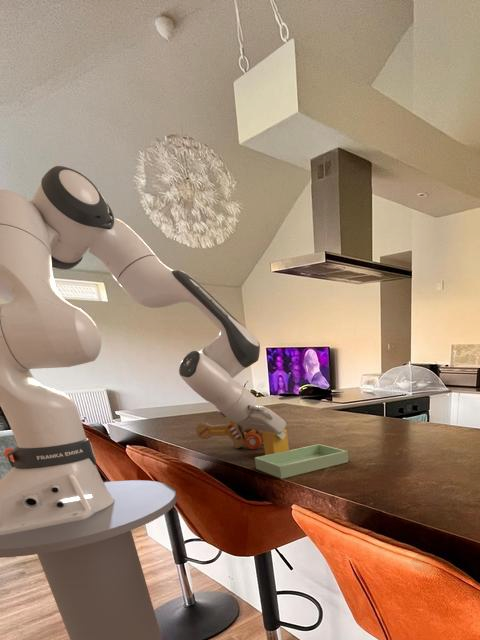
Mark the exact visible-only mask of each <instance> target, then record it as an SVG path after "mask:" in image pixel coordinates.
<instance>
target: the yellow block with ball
mask: <svg viewBox="0 0 480 640" xmlns="http://www.w3.org/2000/svg"><path fill="white" fill-rule="evenodd" d="M283 433H285V435H286V436H285V438H284V439H283V440H282V439H279V438H278V437H276V434H275V433H270V432H264V431H262V436H263V449H264V455H269V454H274V453H279V452H284V451H289V450H290V446H289V445H290V444H289V439H288V431H287V429H284V430H283Z"/></svg>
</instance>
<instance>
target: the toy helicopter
mask: <svg viewBox="0 0 480 640" xmlns="http://www.w3.org/2000/svg"><path fill="white" fill-rule="evenodd" d="M222 418H224V416H222ZM195 433H196V435H197V436H198V437H199V438H200V439H202V440H208V439H210V438H211V437H213V436H227V437H229V439H230V440H232V442H233V447H234V448H235V449H240V448H241V447H244V446H245V447H247V448H248V449H250V450H257V449H259V448H260V447H261V446H262V444H264V442H263V436H262V433H261V432H259V431H258V430H254V429H249V428H244V427H242V426H240V425H238V424H237V423H235V422H233V421H232V420H230V421H229V422H228V423H225V424H216V425H212V424H210V423H207V422H201V423H199V424H197V426H196V428H195Z"/></svg>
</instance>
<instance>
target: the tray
mask: <svg viewBox="0 0 480 640" xmlns="http://www.w3.org/2000/svg"><path fill="white" fill-rule="evenodd" d="M254 463H255V469H256V470H258V471H260V472H263V473H266V474H268V475H271V476H273V477H276V478H278V479H280V480H283V479H286V478H290V477H295V476H299V475H303V474H306V473H310V472H314V471H319V470H323V469H326V468H330V467H335V466H338V465H343V464H347V463H349V454H348V450H345V449H341V448H337V447H333V446H329V445H326V444H320V443H317V444H314V445H308V446H303V447H299V448H294V449H289V451H284V452H279V453H274V454H269V455H265V454H264V455H260V456H255V457H254Z"/></svg>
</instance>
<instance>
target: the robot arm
mask: <svg viewBox="0 0 480 640" xmlns="http://www.w3.org/2000/svg"><path fill="white" fill-rule="evenodd" d="M40 183H41V184H40V185H39V187H38V188H37V190H36V192H35V193H34V196H33V197H32V200H28V199H27V198H26V197H24V196H22V195H21V194H18V193H16V192H14V191H11V190H7V189H0V299H2V300H4V301H6V302H7V303H0V408H1V410H2V412H3V414H4V416H5V418H6V420H7V423H8V425H9V427H10V429H11V432H12V434H13V437H14V439H15V442H16V445H17V446H16V447H15V448H13V447H6V448H5V449H4V450H3V455H4V458H6V459H7V460H8V463H9V465H10V466H11V469H10V470H9V471H8V472H7V473H6V474H5V475H4V476H3V477H1V479H0V535H6V534H11V533H16V532H21V531H27V530H32V529H37V528H42V527H47V526H53V525H58V524H63V523H68V522H74V521H79V520H83V519H86V518H88V517H90V516H91V515H93V514H94V513H96V512H98V511H100V510H102V509H105V508H107V507H108V506H110V505H111V504H112V503H113V502H114V499H113V497H112V496H111V494H110V493H109V491H108V490H107V488H106V486H105V484H104V483H103V482H104V480H103V479H102V477H101V474H100V472H99V469H98V468H97V457H96V455H95V451H94V448H93V445H92V443H91V440H90V439H89V438H88V437H87V436H86V433H85V430H84V426H83V423H82V422H83V421H82V420H81V419H82V418H81V416H80V413H79V409H78V405H77V404H76V403H75V401H74V400H73V399H72V398H71V396H69V395H67V394H65V393H64V392H61V391H59V390H56V389H54V388H50V387H47V386H44V385H43V384H42V383H40V382H39V381H38V380H37V379H36V378H35V376H34V375H33V374H32V371H31V370H34V369H35V370H36V369H57V368H70V367H71V368H72V367H75V366H81V365H84V364H89V363H92V362H95V361H96V360H97V358H98V357H99V355H100V353H101V350H102V336H101V332H100V331H99V328H98V326H97V324H96V322H95V321H94V320H93V319H92V317H91V316H89V315H88V314H87V313H86V312H85V311H84V310H82V309H81V308H79V307H77V306H75V305H74V304H72V303H70V302H68V301H67V300H66V299H65V298H64V297H62V295H61V294H60V293H59V291H58V290H57V288H56V282H55V278H54V271H53V268H55V269H59V270H64V271H65V270H67V271H68V270H71V269H73V268H75V267H76V266H78V265H79V264H80V263H81V262H82V260H83V258H84V255H85V254H87V252H88V253H89V254H91V255H92V256H94V257H96V258H97V259H99V260H100V261H101V262H102V264H103V265H104V266H105V268H106V270H108V272H109V274H110V275H111V276H112V277H113V278H114V280H115V281H116V282H117V284H118V285H119V286H120V287H121V288H122V289H123V291H124V292H125V293H126V294H127V295H128V296H129V297H130V298H131V299H132V301H134V302H135V303H137V304H138V305H141V306H143V307H146V308H152V309H158V308H159V309H160V308H165V307H169V306H174V305H176V304H180V303H188V304H191V305H193V306H194V307H195V308H196V309H197V310H199V312H201V313H202V315H204V316H205V318H207V319H208V320H209V321H210V322H211V323H212V324H213V325H214V326H215V327H216V328H218V330H219V334H218V335H217V336H216V337H215V338H213V340H212V341H210V342H209V343H207V344H206V345H205V346H204V347H203V348H202V349H200V350H192V351H190V352H188V353H187V354H186V355H185V356H184V357H183V359H181V362H180V364H179V367H178V368H179V369H178V374H179V376H180V378H181V379H182V380H183V381H184V382H185V383H186V385H188V386H189V387H190V388H191V389H192V390H193V391H194V392H195V393H196V394H197V395H198V396H200V397H201V398H202V399H203V400H205V401H206V402H209V403H211V404H212V405H213V406H215V408H216V409H217V410H218V411H217V412H218V414H219V415H221V416H222V417H223V418H227V419H229V420H230V421H231V420H232V421H233V422H235V423H237V424H238V425H240V426H242V427H244V428H249V429H254V430H258V431H259V432H261V433H262V431H264V432H270V433H275V434H276V437H278V438H279V439H282V440H283V439H284V438H285V436H286V435H285V433H283V430H286V427H287V425H288V424H287V422H286V420H284V419H283V418H282V417H280V416H279V415H278V414H277V413H275V412H274V411H273V410H271V409H270V408H268V407H266V406H262V405H261V406H260V405H258V403H257V397H256V396H255V395H254V394H253V393H252V392H251V391H249V389H248V388H246V387H245V386H244V385H242V384H241V383H240V382H238V381H236V380H235V379H234V378H235V377H237V376H238V375H239V374H240V373H242V372H243V371H244V370H245V369H247V368H249V367H250V366H252V365H254V364H256V362H258V361H259V358H260V352H261V345H260V342H259V340H258V339H257V337H256V336H255V335H254V334H253V332H251V330H249V329H248V328H247V327H246V326H244V325H243V324H242V322H240V321H238V320H237V318H235V317H234V316H233V315H232V313H231V314H230V312H229V311H228V310H227V309H226V308H225V307H224V306H222V304H221V303H220V302H219V301H218V300H217V299H215V298H214V296H212V294H210V293H209V291H207V290H206V289H205V288H204V287H203V286H202V285H201V284H200V283H199V282H198V281H197V280H195V279H194V278H193V277H192V276H191V275H189V274H188V273H186V272H185V271H183V270H181V269H171V268H170V267H168V266H166V265H165V264H164V263H163V262H162V261H161V260H160V259H159V257H158V256H157V255H156V254H155V253H154V251H153V250H152V249H151V248H150V247H149V246H148V244H146V242H145V241H144V240H143V239H142V238H141V237H140V236H139V235H138V234H137V233H136V232H135V231H134V230H133V229H132V228H131V227H130V226H129V225H127V224H126V223H125V222H124V221H123V220H121V219H118V218H115V216H114V213H113V210H112V209H111V207H110V205H109V204H108V203H107V201H106V198H105V197H104V195H102V193H101V192H100V190H99V189H98V187H97V186H96V185H95V184H94V183H93V182H92V181H91V180H90V179H89V178H87V177H86V176H85V175H84V174H82V173H81V172H79V171H77V170H75V169H73V168H71V167H66V166H63V165H56V166H53V167H52V168H50V169H48V171H47V172H46V173H45V174H44V175H43V177H42V178H41V181H40Z"/></svg>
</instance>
